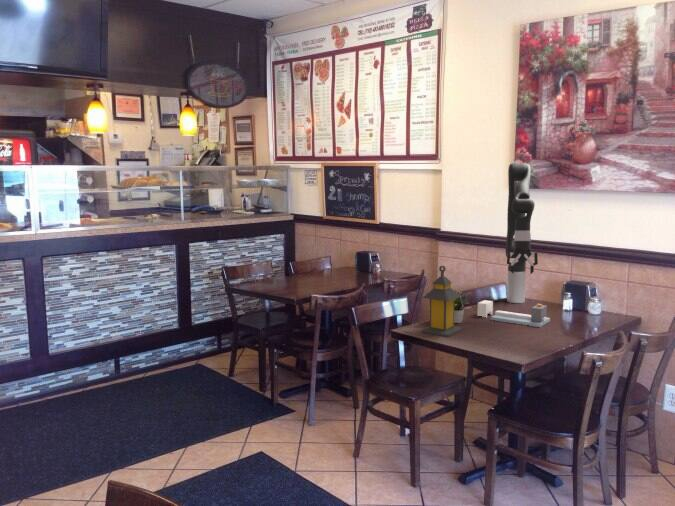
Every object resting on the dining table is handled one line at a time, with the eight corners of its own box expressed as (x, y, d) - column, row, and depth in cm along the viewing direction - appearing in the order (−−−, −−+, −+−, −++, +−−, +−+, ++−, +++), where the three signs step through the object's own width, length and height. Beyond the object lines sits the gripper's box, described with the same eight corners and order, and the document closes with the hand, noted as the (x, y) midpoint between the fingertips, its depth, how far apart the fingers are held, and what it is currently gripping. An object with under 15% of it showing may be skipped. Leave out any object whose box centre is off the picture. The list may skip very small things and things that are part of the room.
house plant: (472, 326, 279) (473, 292, 277) (442, 325, 282) (442, 291, 280) (472, 319, 293) (472, 286, 291) (443, 318, 296) (443, 285, 293)
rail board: (502, 314, 302) (502, 296, 301) (550, 321, 287) (550, 302, 286) (490, 319, 291) (491, 301, 290) (539, 327, 276) (540, 307, 275)
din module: (484, 313, 304) (484, 300, 304) (492, 314, 302) (492, 301, 301) (477, 316, 298) (477, 303, 297) (485, 317, 296) (486, 304, 295)
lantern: (436, 325, 283) (436, 262, 278) (463, 330, 274) (464, 265, 269) (420, 331, 272) (420, 266, 268) (447, 337, 263) (448, 269, 259)
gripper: (537, 240, 293) (536, 273, 293) (506, 240, 296) (506, 272, 296) (538, 240, 285) (538, 274, 286) (507, 240, 289) (507, 273, 289)
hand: (521, 273), depth 291 cm, fingers open, 8 cm apart
